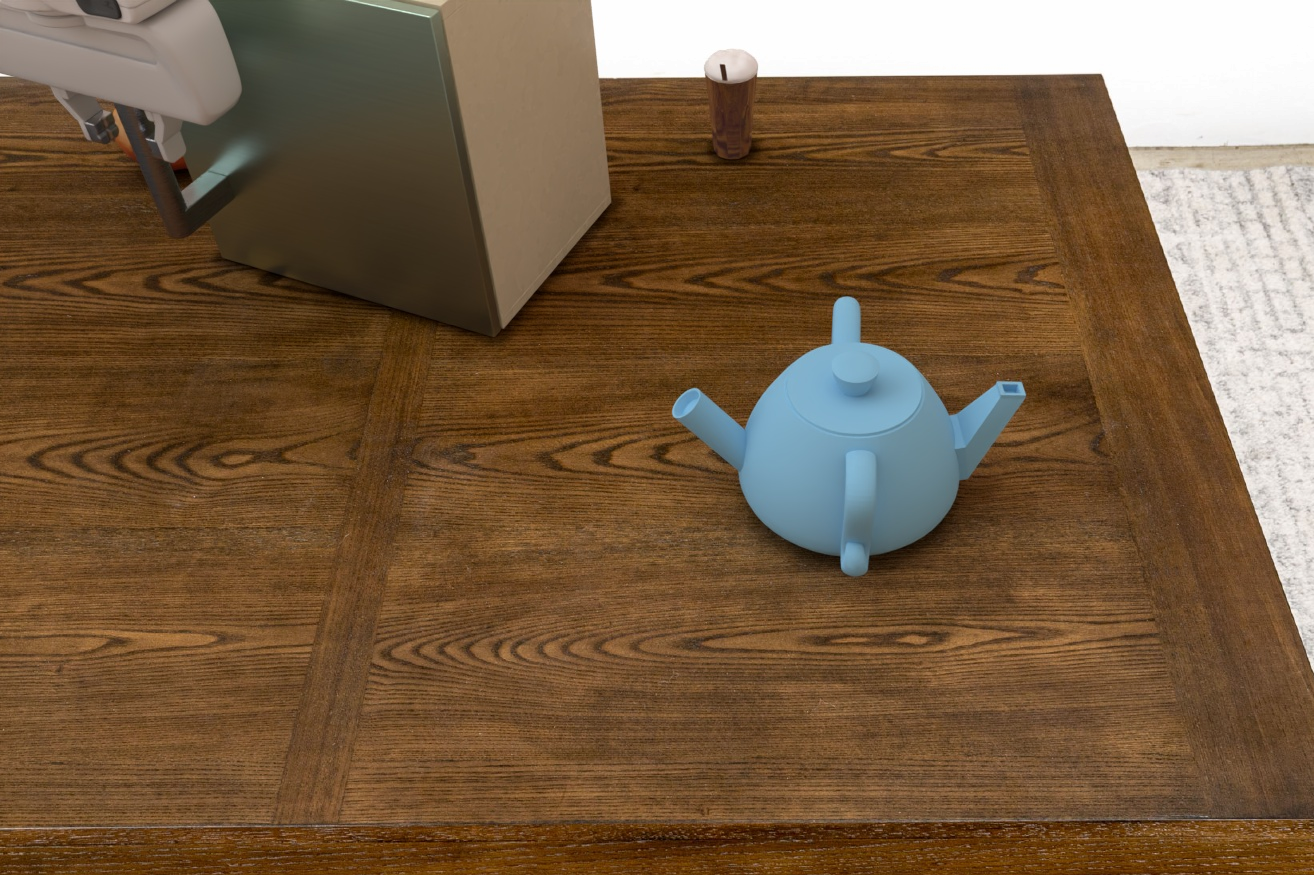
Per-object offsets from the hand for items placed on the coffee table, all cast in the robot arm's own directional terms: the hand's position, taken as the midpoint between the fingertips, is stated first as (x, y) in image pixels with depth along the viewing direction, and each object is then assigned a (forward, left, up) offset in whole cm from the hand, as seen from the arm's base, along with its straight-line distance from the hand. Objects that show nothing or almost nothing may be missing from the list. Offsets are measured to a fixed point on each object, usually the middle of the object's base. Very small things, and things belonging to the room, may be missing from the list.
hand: (137, 147), depth 89 cm
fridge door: (+11, 0, -14) cm, 18 cm away
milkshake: (+40, +24, -15) cm, 49 cm away
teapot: (+50, -16, -15) cm, 55 cm away
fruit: (-10, +21, -15) cm, 27 cm away
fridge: (+15, +12, -15) cm, 24 cm away
